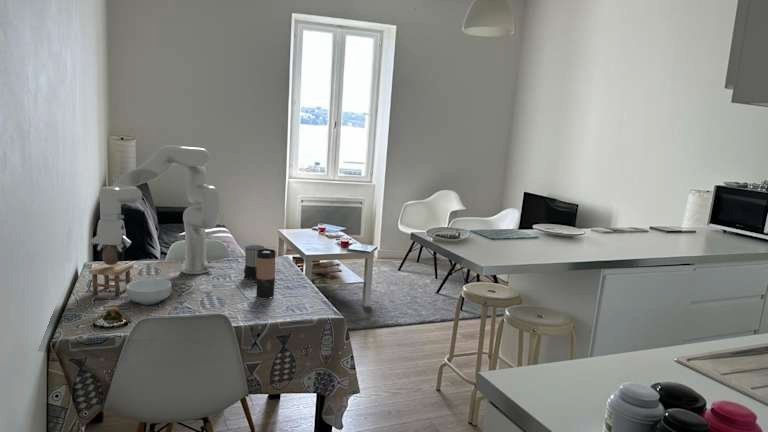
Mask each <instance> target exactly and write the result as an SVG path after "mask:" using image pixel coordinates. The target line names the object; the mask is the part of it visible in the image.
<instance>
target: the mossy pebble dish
mask: <svg viewBox="0 0 768 432" xmlns="http://www.w3.org/2000/svg"><path fill="white" fill-rule="evenodd" d="M101 319H103V320H104V321H105V322H106V323H107V324H114V323H118V322H123V319H124V320H126V321H125V323H122V324H119V325H112V326H114V327H119V326H123V325H124V324H126V325H127V324H128V323H129V322H130V323H131V316H129V315H127V314H123V313H121V309H120V308H119V307H116V306H111V307H109V308H108V309H106V311H105V314H102V313H101V314H100V315H99V316H98V317H96V318H95V319H93V322H92V325H93V324H94V325H93V326H95V325H96V326H98V327H101V325H97V324H96V322H97V321H98V320H101ZM130 323H129V324H130ZM112 326H104V327H105V328H113V327H112ZM104 327H103V328H104Z"/></svg>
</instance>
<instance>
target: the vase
mask: <svg viewBox="0 0 768 432" xmlns="http://www.w3.org/2000/svg"><path fill="white" fill-rule="evenodd" d="M118 252H119V249H118V248H117V246H116V245H105V246H104V250H103V252H102V260H101V261H102V262H103V263H105V264H107V265H115V264H119V262H120V261H118Z"/></svg>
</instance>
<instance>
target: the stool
mask: <svg viewBox="0 0 768 432" xmlns="http://www.w3.org/2000/svg"><path fill="white" fill-rule="evenodd" d="M132 269H134V264H126V263H117V264H115V265H107V264H105V263H104V262H103V263H102V264H99V265H97V266H95V267H93V268H91V269H89V270H88V274H89V275H92V277H91V278H92V279H91V281H92V296H98V295H99V292H98V291H99V290H98V288H104V289H106V290H107V289H110V288H111V289H114V297H115V298H116V297H117V298H118V297H120V296H121V287H120V286H121V283H120V282H123V283H125V286H126V285H127V284H129V283H131V270H132ZM123 274H125V278H120V276H122V275H123ZM98 275H99V276H100V275H101V276H103V279H104V282H103V283H98ZM110 276H114V277H110ZM110 282H114V284H110Z"/></svg>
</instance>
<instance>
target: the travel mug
mask: <svg viewBox="0 0 768 432" xmlns="http://www.w3.org/2000/svg"><path fill="white" fill-rule="evenodd" d="M275 277H276V250H275V249H271V248H270V249H269V248H267V249H261V250H258V251H257V276H256V281H255V282H256V285H255V286H256V298H257V297H259V298H270V297H273V296H274V295H275V283H276V282H275V281H276V280H275V279H276V278H275ZM259 298H258V299H259ZM273 298H274V297H273Z"/></svg>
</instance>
